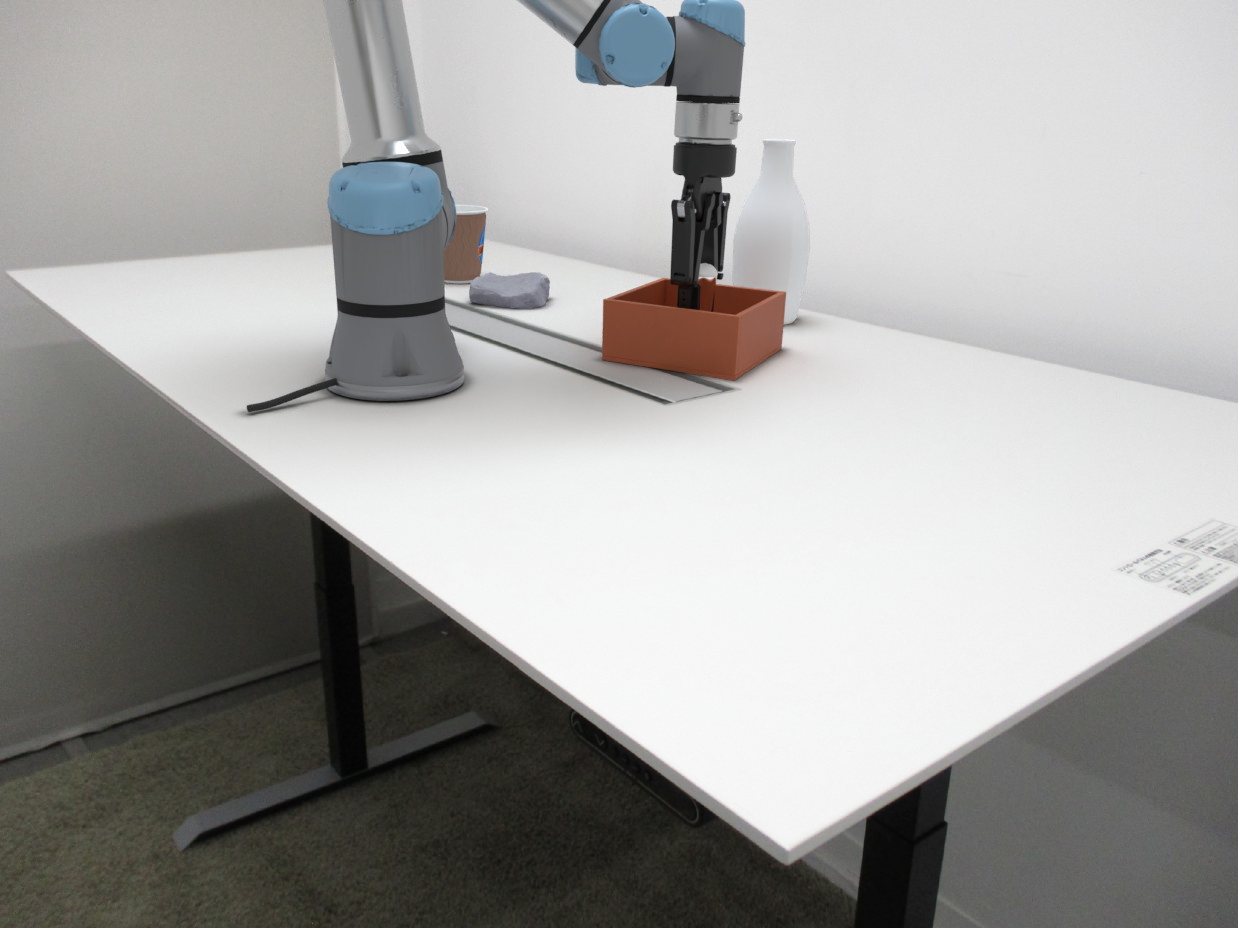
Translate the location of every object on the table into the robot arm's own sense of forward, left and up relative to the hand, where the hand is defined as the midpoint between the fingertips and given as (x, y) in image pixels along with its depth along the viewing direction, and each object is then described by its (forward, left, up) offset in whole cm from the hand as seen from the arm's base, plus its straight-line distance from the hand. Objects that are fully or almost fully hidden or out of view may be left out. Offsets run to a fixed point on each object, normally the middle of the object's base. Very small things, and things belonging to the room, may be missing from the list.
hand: (694, 333), depth 128 cm
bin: (0, 0, -3) cm, 3 cm away
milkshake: (0, 0, 0) cm, 1 cm away
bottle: (+25, -1, -3) cm, 25 cm away
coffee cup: (+25, +54, -3) cm, 59 cm away
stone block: (+14, +37, -3) cm, 40 cm away
